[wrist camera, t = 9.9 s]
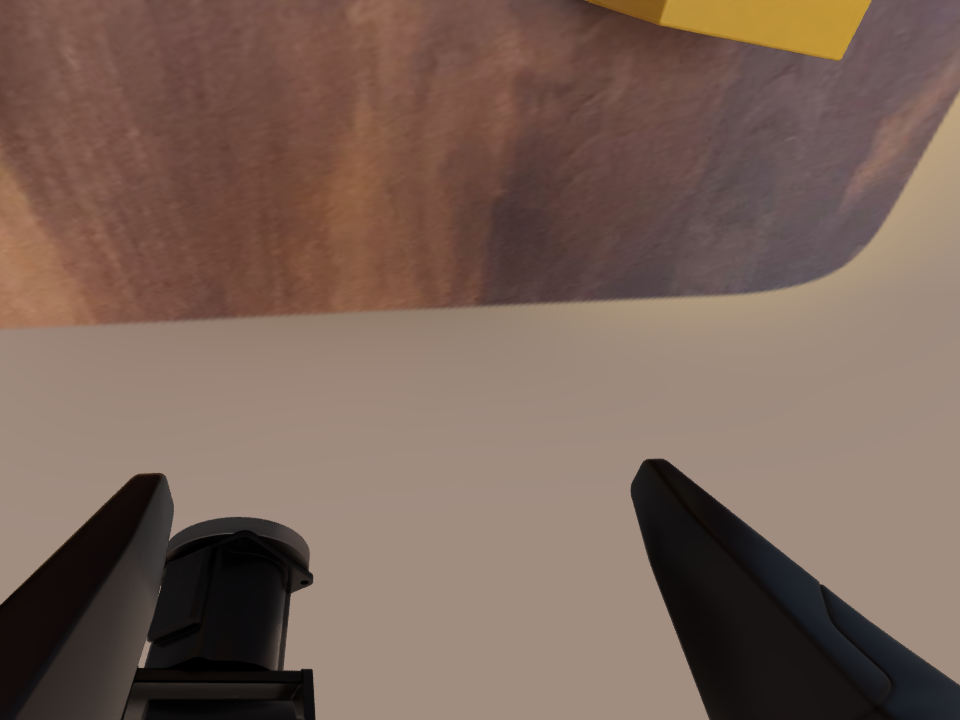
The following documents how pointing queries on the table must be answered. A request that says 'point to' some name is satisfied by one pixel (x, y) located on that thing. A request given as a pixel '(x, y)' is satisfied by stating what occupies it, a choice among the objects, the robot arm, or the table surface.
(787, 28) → the yellow block
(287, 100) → the table surface
